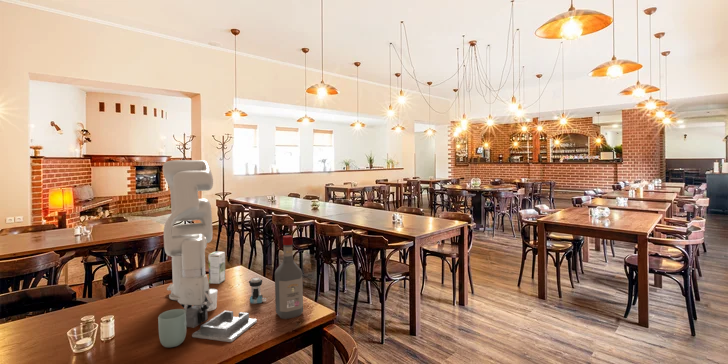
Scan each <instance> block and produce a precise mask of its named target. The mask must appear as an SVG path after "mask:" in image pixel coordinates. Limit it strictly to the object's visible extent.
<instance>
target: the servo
mask: <svg viewBox="0 0 728 364" xmlns="http://www.w3.org/2000/svg"><path fill="white" fill-rule="evenodd" d="M202 307H203V306H202ZM207 309H209V307H208V308H207ZM185 311H186V320H187V328H193V329H194V328H196V327H198V326H199V325H200V324H198V313H199V310H198V306H194V305H192V307H190V308H188V309H186V310H185ZM205 317H206V318H205V321H204V322H207V320H208V319H209V318H208V317H209V316H208V311H207V310H205Z"/></svg>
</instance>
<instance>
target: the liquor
mask: <svg viewBox="0 0 728 364" xmlns="http://www.w3.org/2000/svg"><path fill="white" fill-rule="evenodd" d="M293 243H294V242H293V235H289V234H287V235H283V236H282V245H283V259H282V261H281V263H280V264H279V266H278V267H277V268H276V269H275V271H274V292H275V295H274V296H275V297H274V298H275V300H274V301H275V313H276V314H277V316H278V317H279V318H280V319H284V320H288V319H292V318H297V317H300V316H301V315H302V314H303V312H304V294H303V293H304V291H303V289H304V287H303V284H304V283H303V280H304V279H303V270H302V269H301V268H300V266H299V265H298V264H297V263H296V262H295V261H294V256H293V255H294V251H293V245H294V244H293Z"/></svg>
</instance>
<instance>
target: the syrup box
mask: <svg viewBox="0 0 728 364" xmlns="http://www.w3.org/2000/svg"><path fill="white" fill-rule="evenodd" d="M207 257H208V283H209V284H217V285H218V284H222V282H224V281H226V252H225V251H212V252H211V253H208V256H207Z"/></svg>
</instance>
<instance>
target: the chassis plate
mask: <svg viewBox="0 0 728 364" xmlns="http://www.w3.org/2000/svg"><path fill="white" fill-rule="evenodd" d="M249 313H250V312H244V311H243V312H242V311H239V312H238V316H234V311H233V310H232V311H231V310H224V311H221V312H220V313H218V314H217V315H215V316H213V317H212V318H211V319H209V320H208V321H205V323H204V322H203V323H202V324H200V328H199V329H198V330H196V331H195V332H193V333H191V337H192V338H196V339H204V340H206V339H207V340H213V341H220V342H228V343H233V341H235V340H236V339H237V338H238V337H240V336H241V335H242V334H244V333H245V332H246V331H247V330H249V329H250V328H251V327H252V326H253V325H255V324H256V323H257V322H258V321H257V318H250V315H249Z"/></svg>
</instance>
